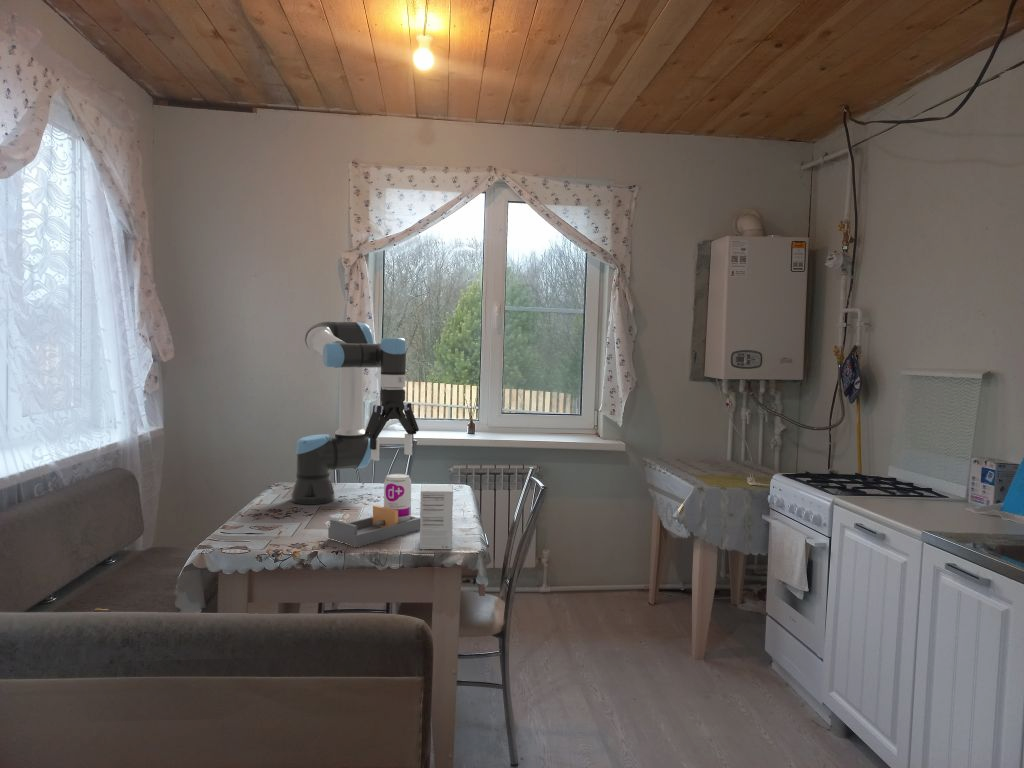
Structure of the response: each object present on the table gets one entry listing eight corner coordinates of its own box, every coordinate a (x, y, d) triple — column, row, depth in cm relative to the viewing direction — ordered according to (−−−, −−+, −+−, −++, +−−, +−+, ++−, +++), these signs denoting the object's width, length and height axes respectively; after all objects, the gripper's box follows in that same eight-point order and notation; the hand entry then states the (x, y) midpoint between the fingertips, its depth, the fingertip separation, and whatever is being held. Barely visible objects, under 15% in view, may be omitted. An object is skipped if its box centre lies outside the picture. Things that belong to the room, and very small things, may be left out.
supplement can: (404, 528, 207) (404, 479, 206) (379, 525, 209) (379, 477, 208) (414, 521, 215) (415, 474, 214) (390, 519, 217) (391, 472, 216)
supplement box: (420, 540, 201) (421, 483, 200) (452, 540, 202) (453, 483, 200) (419, 550, 191) (420, 490, 190) (452, 550, 192) (453, 490, 191)
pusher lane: (328, 539, 199) (328, 519, 199) (394, 521, 220) (394, 503, 220) (356, 547, 192) (356, 526, 191) (421, 528, 212) (422, 510, 212)
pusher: (365, 526, 209) (365, 507, 208) (375, 524, 212) (375, 505, 212) (387, 533, 203) (387, 513, 202) (397, 530, 206) (398, 510, 206)
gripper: (369, 391, 196) (368, 464, 197) (430, 387, 216) (429, 453, 217) (352, 389, 200) (352, 460, 202) (413, 386, 220) (412, 451, 221)
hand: (392, 457), depth 209 cm, fingers open, 13 cm apart
